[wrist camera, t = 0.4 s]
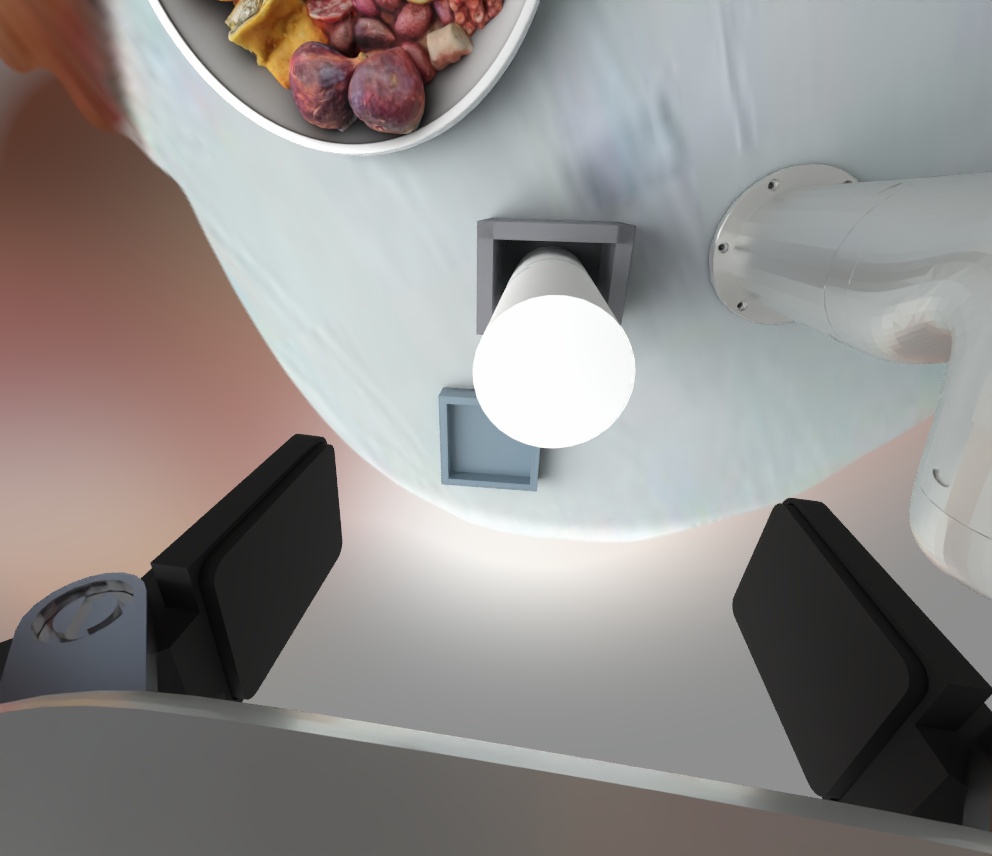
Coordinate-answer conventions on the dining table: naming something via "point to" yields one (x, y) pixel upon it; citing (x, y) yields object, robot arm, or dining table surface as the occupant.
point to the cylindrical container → (553, 355)
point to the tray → (481, 447)
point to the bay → (609, 233)
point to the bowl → (350, 63)
